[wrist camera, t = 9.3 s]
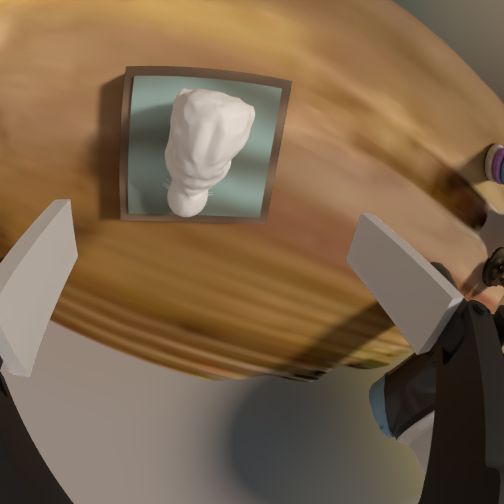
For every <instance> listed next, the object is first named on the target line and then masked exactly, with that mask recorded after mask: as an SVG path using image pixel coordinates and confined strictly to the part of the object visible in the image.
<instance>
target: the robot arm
mask: <svg viewBox="0 0 504 504" xmlns="http://www.w3.org/2000/svg"><path fill="white" fill-rule="evenodd" d="M77 258H78V254H77V248H76V242H75V235H74V228H73V220H72V212H71V203H70V199H62V200H54V201H53V202H52V203H51V204H50V205H49V206H48V207H47V208H46V209H45V210H44V212H43V213H42V214H41V215H40V216H39V217H38V218H37V219H36V220H35V221H34V223H33V224H32V225H31V226H30V227H29V228H28V229H27V231H26V232H25V233H24V234H23V235H22V236H21V238H20V239H19V240H18V241H17V243H16V244H15V245H14V246H13V248H12V249H11V250H10V251H9V253H8V254H7V255H6V256H5V258H1V259H0V369H1V366H2V363H3V362H4V364H5V366H6V367H7V369H8V370H9V372H10V373H11V374H14V375H19V376H23V377H28V378H30V375H31V372H32V368H33V365H34V362H35V359H36V356H37V353H38V350H39V347H40V344H41V341H42V339H43V336H44V333H45V330H46V328H47V325H48V322H49V320H50V317H51V315H52V313H53V310H54V308H55V305H56V303H57V301H58V298H59V296H60V294H61V291H62V289H63V287H64V285H65V283H66V280H67V278H68V276H69V274H70V272H71V270H72V268H73V266H74V264H75V262H76V260H77ZM346 262H347V263H348V264H349V266H350V267H351V268H352V269H353V271H354V272H355V273H356V274H357V276H358V277H359V278H360V279H361V281H362V282H363V283H364V284H365V286H366V287H367V288H368V290H369V291H370V292H371V293H372V295H373V296H374V297H375V299H376V300H377V301H378V302H379V304H380V305H381V306H382V308H383V309H384V310H385V312H386V313H387V314H388V316H389V317H390V318H391V320H392V321H393V322H394V324H395V325H396V326H397V328H398V329H399V331H400V332H401V333H402V335H403V336H404V337H405V339H406V340H407V342H408V343H409V344H410V346H411V347H412V349H413V350H414V351H415V352H414V353H413V354H412V355H411V356H409V357H408V358H407V359H405V360H404V361H403V362H401V363H400V364H399V365H397V366H396V367H395V368H393V369H392V370H390V371H389V372H386V373H385V374H384V376H383V377H381V378H380V379H379V380H377V381H376V382H375V383H374V384H373V385H372V386H371V388H370V390H369V402H370V406H371V410H372V413H373V415H374V418H375V420H376V422H377V424H378V425H379V427H380V430H381V432H382V433H383V434H384V436H386V437H388V438H391V437H394V436H395V438H396V440H397V442H399V443H404V444H408V445H409V446H410V448H411V450H412V452H413V454H414V456H415V458H416V459H417V462H418V463H419V466H420V467H421V470H422V472H423V474H424V476H425V481H424V486H423V491H422V495H421V498H420V501H419V503H418V504H504V354H503V352H502V347H503V345H504V305H500V306H499V307H498V309H497V311H496V312H495V314H491V312H490V310H489V309H488V308H487V307H486V306H485V305H484V304H482V303H480V302H478V301H476V300H470V301H468V302H467V301H466V300H465V298H464V296H463V295H462V294H461V293H460V292H459V290H458V288H457V286H456V284H455V282H454V280H453V278H452V276H451V274H450V272H449V271H448V270H447V269H446V268H445V267H444V266H443V265H442V264H440V263H436V262H435V263H429V262H428V261H427V260H426V259H425V258H424V257H423V256H422V255H420V254H419V253H418V252H417V251H416V250H415V249H414V248H413V247H412V246H410V245H409V244H408V243H407V242H406V241H405V240H404V239H402V238H401V237H400V236H399V235H398V234H397V233H395V232H394V231H393V230H392V229H391V228H390V227H388V226H387V225H386V224H385V223H384V222H382V221H381V220H380V219H379V218H377V217H376V216H375V215H374V214H368V213H361V216H360V219H359V222H358V225H357V228H356V231H355V235H354V238H353V241H352V244H351V247H350V250H349V253H348V255H347V258H346ZM0 504H74V503H73V502H72V501H71V500H70V498H69V497H68V496H67V494H66V493H65V492H64V490H63V489H62V487H61V486H60V485H59V483H58V482H57V480H56V479H55V477H54V476H53V474H52V473H51V471H50V470H49V468H48V466H47V465H46V463H45V462H44V460H43V458H42V457H41V455H40V453H39V451H38V450H37V448H36V446H35V444H34V442H33V441H32V439H31V437H30V435H29V433H28V431H27V429H26V427H25V425H24V423H23V421H22V419H21V417H20V415H19V413H18V411H17V408H16V406H15V404H14V402H13V399H12V397H11V394H10V392H9V389H8V387H7V384H6V382H5V379H4V377H3V375H2V374H1V372H0Z"/></svg>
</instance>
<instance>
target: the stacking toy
mask: <svg viewBox="0 0 504 504" xmlns="http://www.w3.org/2000/svg"><path fill="white" fill-rule="evenodd" d="M485 173H486V176H487V178H488V179H489V180H490V181H492V182H497V183H498V184H504V148H503V146H501V145H500V144H494V145H493V146H491V148H490V149H489V151H488V153H487V155H486V159H485Z"/></svg>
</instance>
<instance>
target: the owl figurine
mask: <svg viewBox="0 0 504 504" xmlns="http://www.w3.org/2000/svg"><path fill="white" fill-rule="evenodd" d="M501 266H502V267H501ZM500 267H501V269H500ZM485 280H486V281H485ZM483 282H484V283H485V285H487V286H489V287H490V286H496V287H497V285H501V286H503V287H504V247H500V248H498V249H496V250H495V252H494V253H493V255H492V256H491V258H490V259H489V261H488V262H487V264H486V265H485V267H484V269H483Z"/></svg>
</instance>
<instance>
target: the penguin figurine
mask: <svg viewBox="0 0 504 504" xmlns="http://www.w3.org/2000/svg"><path fill="white" fill-rule="evenodd" d="M254 118H255V110H254V107H253V106H251V105H248V104H246V103H245V102H243V101H242V100H241V99H240V98H238V97H232V96H229V95H227V94H225V93H222V92H218V91H210V90H204V89H185V88H183V89H181V90H180V92H179V93H178V95H177V97H176V99H175V100H174V103H173V111H172V114H171V119H170V134H169V140H168V143H167V147H166V149H165V161H166V167H167V169H168V171H169V173H170V175H171V177H172V178H171V179H172V182H170V180H167V181H168V182H169V183H171V184H170V185H168V184H166V185H168V186H165V185H164V186H165V187H167V188H166V189H168V194H167V200H168V204H169V207H170V208H171V210H172V211H173V212H174V213H175V214H177V215H179V216H181V217H192V216H194V215H196V214H198V213H199V212H200V211H201V210H202V209H203V208H204V206H205V204H206V202H207V198H208V195H214V194H208V193H213V192H208V189H211V188H210V187H212V186H214V185H216V184H217V183H218V182H219V181H221V180H222V179H223V178H224V177H225V176H226V174H227V173H228V170H229V169H230V166H231V159H232V158H233V157H234V156H236V155H237V154H238V153H239V151H240V150H241V149H242V148H243V147H244V145H245V143H246V142H247V140H248V138H249V134H250V129H251V126H252V124H253V121H254ZM164 184H165V183H164ZM162 185H163V184H162Z"/></svg>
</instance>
